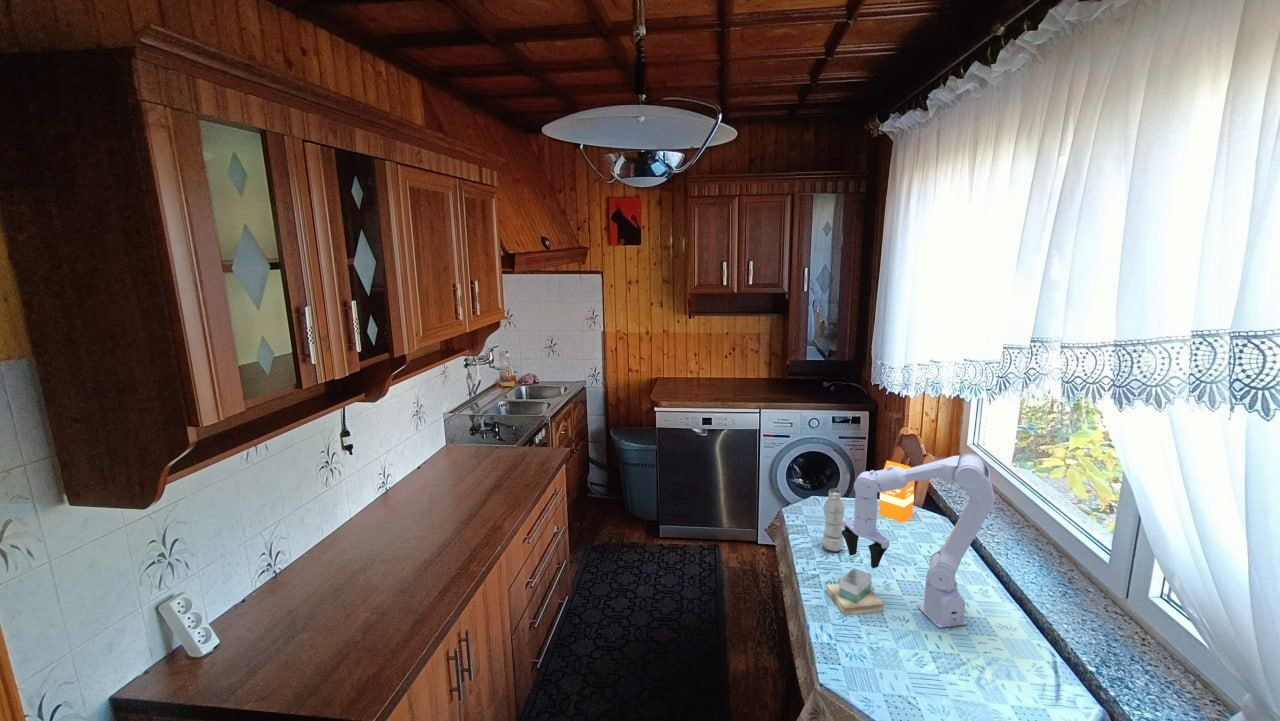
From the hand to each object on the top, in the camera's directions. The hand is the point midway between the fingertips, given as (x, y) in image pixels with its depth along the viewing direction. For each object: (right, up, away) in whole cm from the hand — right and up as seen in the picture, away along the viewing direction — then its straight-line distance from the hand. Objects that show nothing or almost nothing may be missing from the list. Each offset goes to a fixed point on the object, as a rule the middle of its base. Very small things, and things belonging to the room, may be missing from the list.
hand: (863, 560), depth 156 cm
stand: (-3, -10, -2) cm, 11 cm away
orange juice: (+31, -1, +47) cm, 56 cm away
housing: (-3, -8, -2) cm, 9 cm away
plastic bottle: (0, -6, +25) cm, 26 cm away
